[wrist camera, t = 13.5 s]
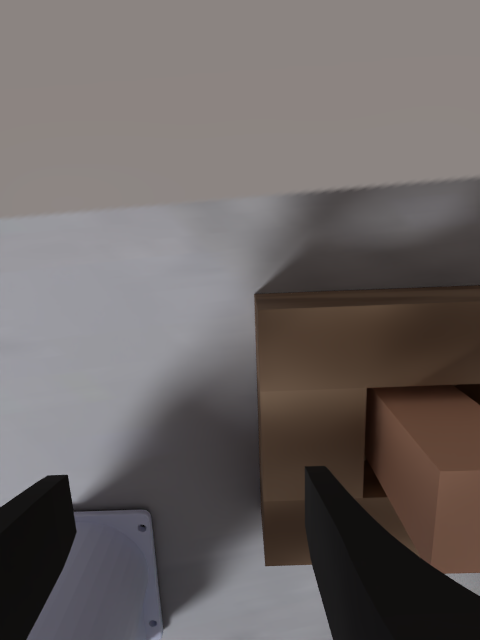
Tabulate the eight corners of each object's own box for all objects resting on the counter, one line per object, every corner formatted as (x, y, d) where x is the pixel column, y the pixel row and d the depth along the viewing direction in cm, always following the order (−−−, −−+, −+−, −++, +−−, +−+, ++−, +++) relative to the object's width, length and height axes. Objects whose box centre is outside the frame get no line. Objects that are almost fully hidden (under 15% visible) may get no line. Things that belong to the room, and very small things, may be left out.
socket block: (514, 501, 23) (569, 555, 19) (261, 509, 23) (265, 566, 20) (545, 282, 20) (617, 296, 16) (254, 293, 20) (258, 309, 17)
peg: (434, 445, 21) (546, 571, 14) (360, 447, 21) (430, 573, 14) (440, 376, 20) (565, 468, 13) (363, 378, 20) (440, 471, 13)
